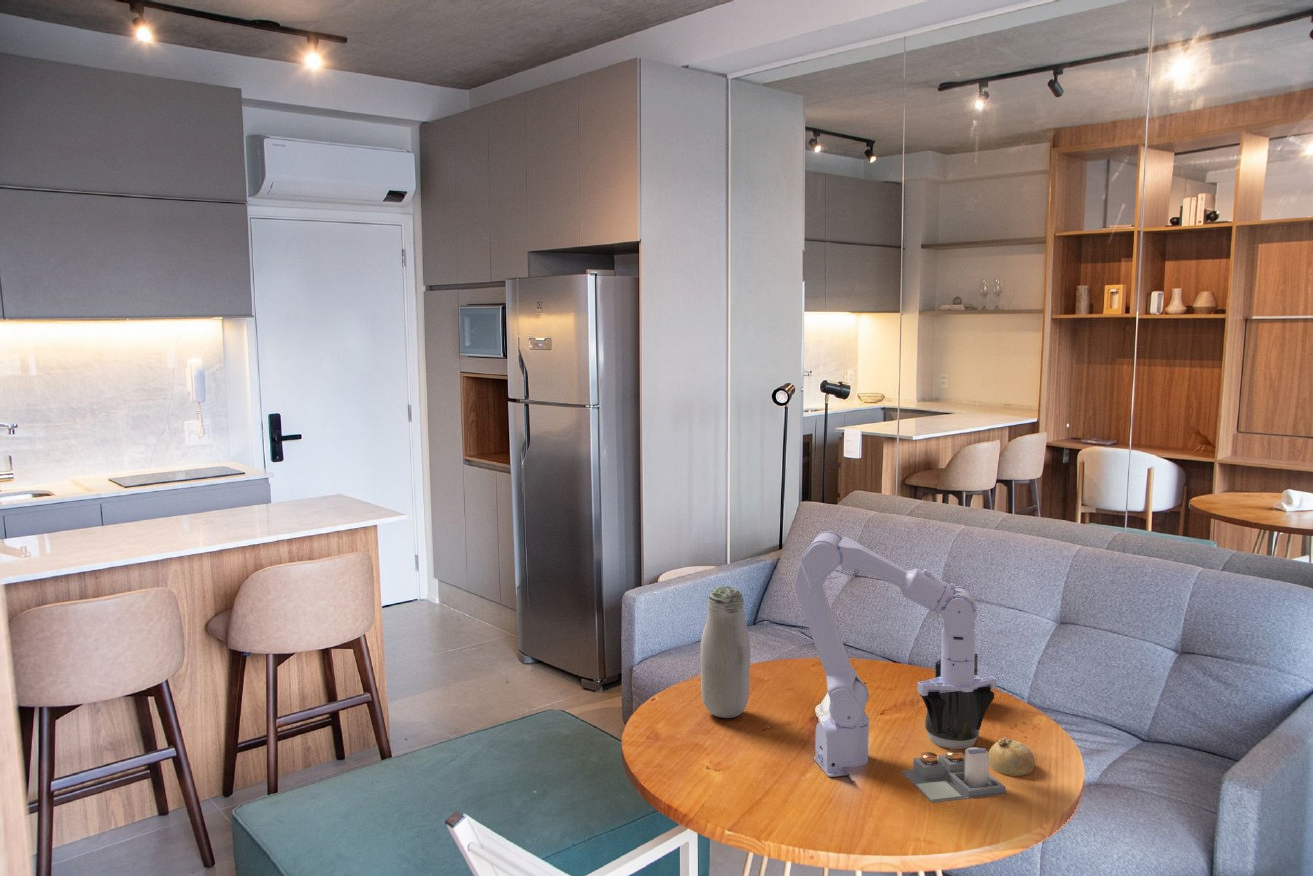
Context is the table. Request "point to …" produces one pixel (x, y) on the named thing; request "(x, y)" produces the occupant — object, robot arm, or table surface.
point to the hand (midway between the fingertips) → (956, 729)
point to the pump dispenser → (954, 722)
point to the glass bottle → (725, 654)
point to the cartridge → (976, 767)
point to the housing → (948, 781)
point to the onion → (1011, 758)
